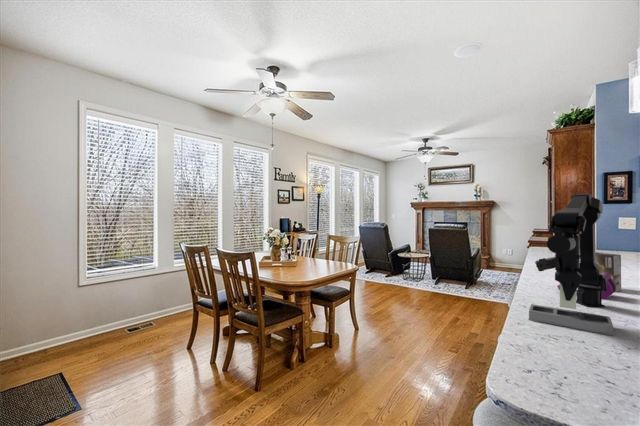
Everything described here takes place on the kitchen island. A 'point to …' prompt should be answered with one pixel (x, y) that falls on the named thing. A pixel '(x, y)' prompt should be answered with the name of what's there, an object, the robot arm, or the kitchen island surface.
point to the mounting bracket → (610, 286)
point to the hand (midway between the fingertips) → (568, 298)
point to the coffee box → (610, 266)
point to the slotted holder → (571, 319)
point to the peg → (564, 302)
